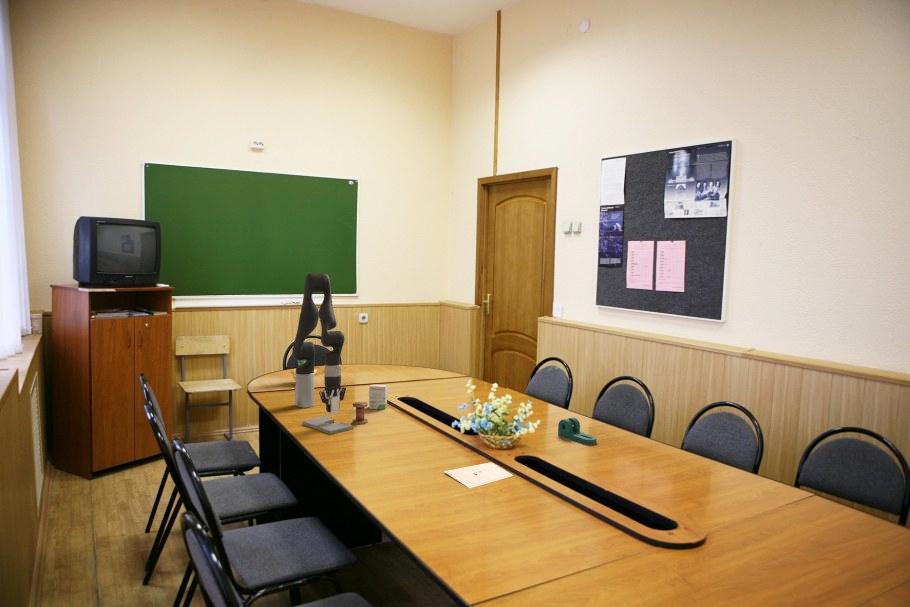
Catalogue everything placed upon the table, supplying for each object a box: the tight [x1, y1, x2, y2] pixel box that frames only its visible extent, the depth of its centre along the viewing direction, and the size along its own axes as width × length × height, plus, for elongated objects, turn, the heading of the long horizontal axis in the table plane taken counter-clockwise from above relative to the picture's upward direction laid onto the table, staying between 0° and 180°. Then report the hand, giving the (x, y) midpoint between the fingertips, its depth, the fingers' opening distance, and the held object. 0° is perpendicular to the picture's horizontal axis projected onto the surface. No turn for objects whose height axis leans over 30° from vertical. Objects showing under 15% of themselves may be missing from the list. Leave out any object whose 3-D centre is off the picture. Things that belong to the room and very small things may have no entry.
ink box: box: [368, 384, 388, 410], centre depth 308 cm, size 9×5×12 cm, turn 84°
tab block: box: [326, 396, 340, 416], centre depth 276 cm, size 4×4×8 cm
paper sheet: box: [443, 462, 514, 489], centre depth 213 cm, size 24×29×1 cm
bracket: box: [557, 416, 598, 446], centre depth 262 cm, size 18×7×8 cm, turn 37°
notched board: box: [302, 415, 354, 435], centre depth 274 cm, size 22×12×2 cm, turn 48°
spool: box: [352, 401, 369, 425], centre depth 282 cm, size 7×7×9 cm
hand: (332, 410), depth 276 cm, fingers closed on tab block, 4 cm apart
